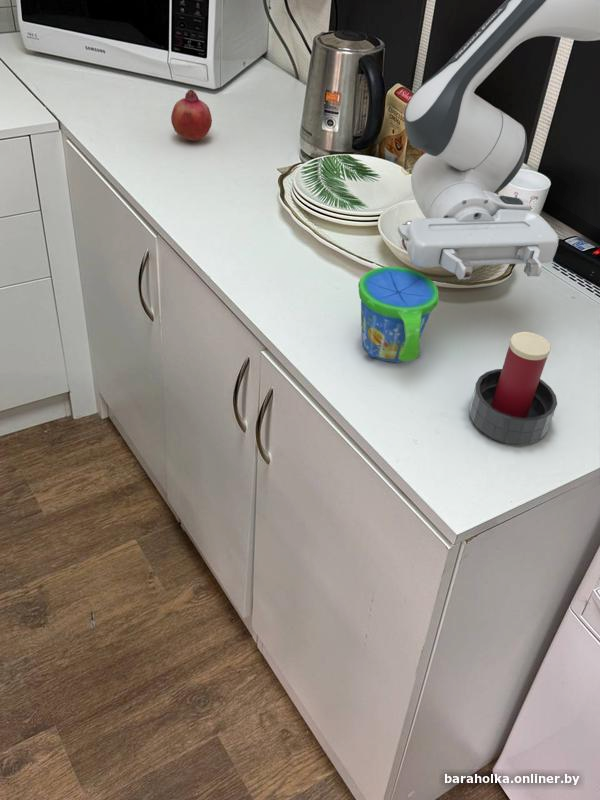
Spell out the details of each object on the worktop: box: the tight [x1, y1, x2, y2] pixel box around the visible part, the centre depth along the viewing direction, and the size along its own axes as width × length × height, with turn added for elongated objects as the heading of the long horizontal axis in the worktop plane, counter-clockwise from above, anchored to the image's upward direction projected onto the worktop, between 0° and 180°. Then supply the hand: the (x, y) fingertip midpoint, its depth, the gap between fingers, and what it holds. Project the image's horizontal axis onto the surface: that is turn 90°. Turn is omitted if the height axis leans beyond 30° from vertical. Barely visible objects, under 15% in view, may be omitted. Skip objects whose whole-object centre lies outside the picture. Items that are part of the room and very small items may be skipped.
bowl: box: [468, 368, 558, 446], centre depth 101 cm, size 10×10×4 cm
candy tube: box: [491, 331, 552, 418], centre depth 99 cm, size 5×5×12 cm
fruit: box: [170, 88, 213, 142], centre depth 160 cm, size 8×8×10 cm
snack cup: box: [357, 266, 440, 363], centre depth 110 cm, size 16×10×10 cm
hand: (501, 273), depth 102 cm, fingers open, 8 cm apart
